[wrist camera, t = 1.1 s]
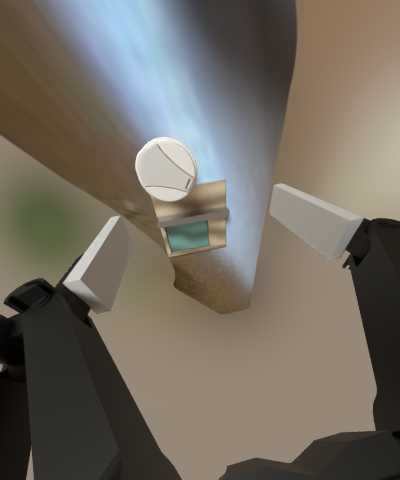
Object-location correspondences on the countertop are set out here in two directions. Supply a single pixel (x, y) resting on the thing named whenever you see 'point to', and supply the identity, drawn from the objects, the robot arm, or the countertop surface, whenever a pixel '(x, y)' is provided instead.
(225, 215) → the rail
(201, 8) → the countertop surface
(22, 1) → the countertop surface
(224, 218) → the board
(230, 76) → the countertop surface
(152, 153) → the coffee cup
